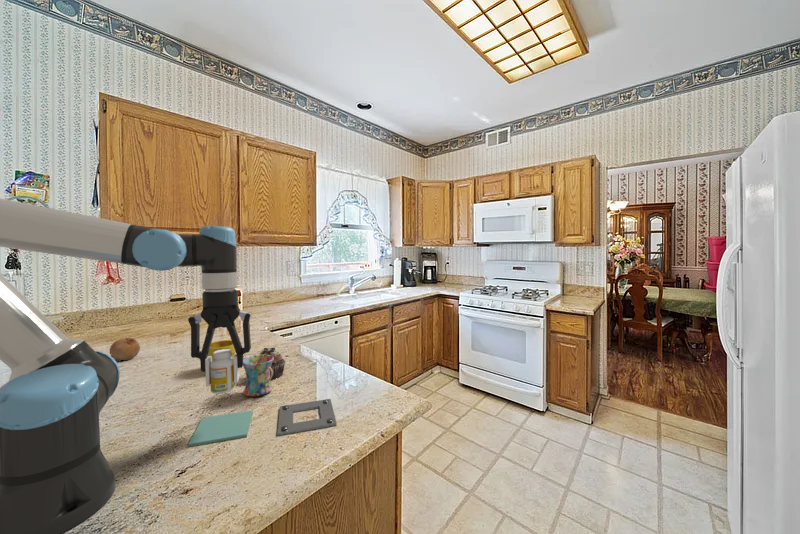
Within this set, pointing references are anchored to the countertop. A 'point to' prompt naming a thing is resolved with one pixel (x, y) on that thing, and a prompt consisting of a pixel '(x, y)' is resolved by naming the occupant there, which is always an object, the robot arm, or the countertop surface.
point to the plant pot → (221, 347)
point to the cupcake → (275, 362)
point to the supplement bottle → (222, 372)
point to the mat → (222, 428)
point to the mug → (258, 374)
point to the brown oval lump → (124, 349)
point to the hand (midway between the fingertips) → (223, 381)
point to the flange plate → (289, 427)
